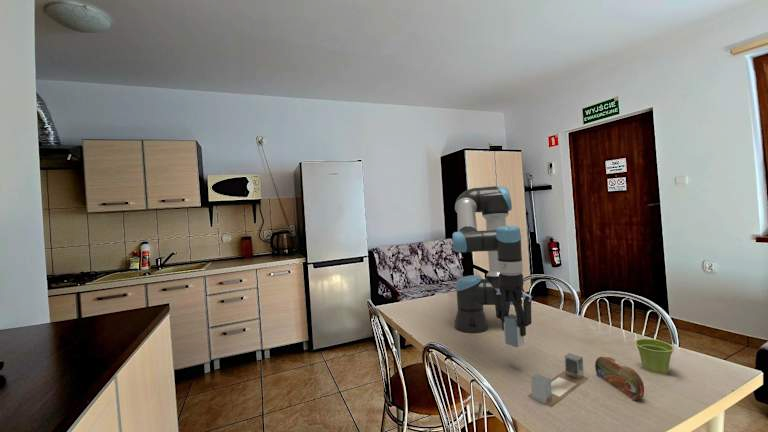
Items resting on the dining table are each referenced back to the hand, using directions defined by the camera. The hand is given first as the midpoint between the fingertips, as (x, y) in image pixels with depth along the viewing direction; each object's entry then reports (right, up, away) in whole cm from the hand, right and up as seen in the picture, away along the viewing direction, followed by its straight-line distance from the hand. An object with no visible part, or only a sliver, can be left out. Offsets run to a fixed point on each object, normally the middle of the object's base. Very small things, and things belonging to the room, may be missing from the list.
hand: (514, 342), depth 107 cm
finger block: (0, 0, 0) cm, 0 cm away
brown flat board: (+9, -10, -12) cm, 17 cm away
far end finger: (+16, -8, -6) cm, 19 cm away
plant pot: (+43, -8, -5) cm, 44 cm away
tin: (+25, -9, -14) cm, 30 cm away
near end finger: (+1, -9, -17) cm, 19 cm away
